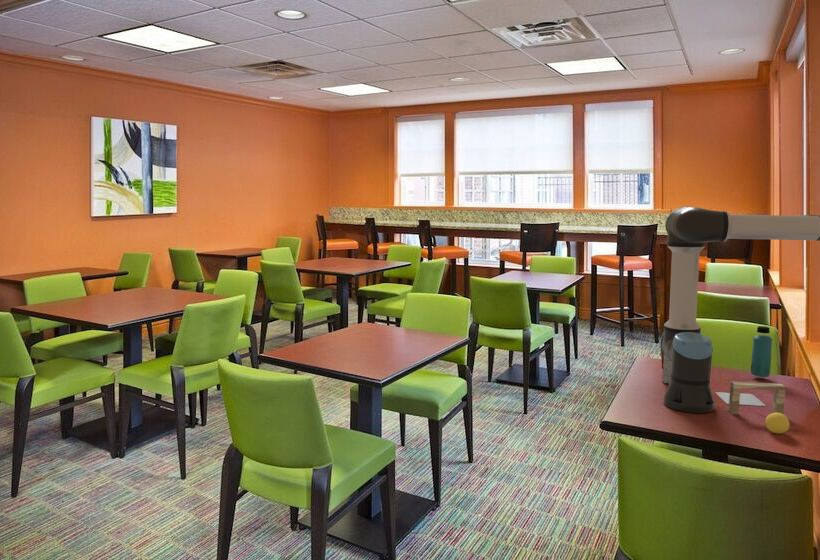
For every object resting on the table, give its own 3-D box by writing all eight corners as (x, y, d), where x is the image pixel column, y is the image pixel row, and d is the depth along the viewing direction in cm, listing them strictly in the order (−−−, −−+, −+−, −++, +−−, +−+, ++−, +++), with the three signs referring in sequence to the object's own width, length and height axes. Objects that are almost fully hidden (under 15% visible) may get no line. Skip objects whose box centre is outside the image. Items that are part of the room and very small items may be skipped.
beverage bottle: (773, 381, 227) (777, 328, 224) (755, 381, 227) (759, 328, 224) (763, 376, 233) (767, 324, 230) (746, 375, 233) (750, 324, 230)
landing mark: (726, 404, 201) (726, 403, 201) (715, 392, 213) (715, 392, 213) (765, 406, 199) (765, 405, 199) (752, 394, 211) (752, 394, 211)
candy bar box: (671, 376, 232) (674, 334, 230) (685, 378, 229) (688, 336, 227) (661, 382, 224) (663, 339, 222) (675, 385, 221) (678, 341, 219)
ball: (769, 436, 175) (771, 416, 174) (761, 428, 180) (763, 408, 180) (792, 437, 174) (794, 417, 173) (783, 429, 179) (785, 410, 179)
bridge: (783, 416, 190) (785, 386, 189) (731, 413, 192) (734, 384, 191) (779, 413, 193) (781, 383, 191) (728, 410, 195) (730, 381, 194)
